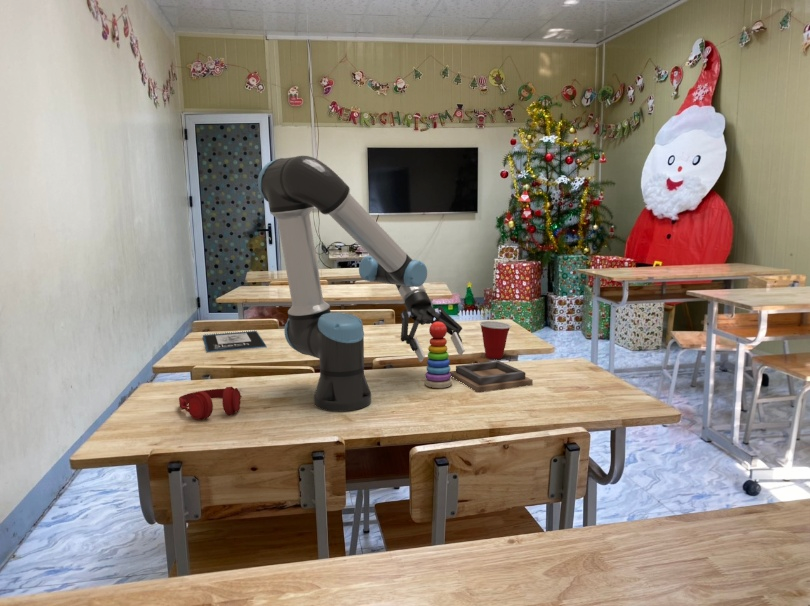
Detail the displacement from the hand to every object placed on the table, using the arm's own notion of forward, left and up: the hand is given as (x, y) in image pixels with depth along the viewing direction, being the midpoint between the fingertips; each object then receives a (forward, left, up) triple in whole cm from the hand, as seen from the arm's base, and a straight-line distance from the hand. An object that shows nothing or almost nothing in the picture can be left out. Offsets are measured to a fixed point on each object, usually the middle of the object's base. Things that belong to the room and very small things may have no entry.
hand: (442, 356), depth 169 cm
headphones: (-63, +8, -10) cm, 64 cm away
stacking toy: (0, +2, -9) cm, 10 cm away
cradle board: (+16, 0, -9) cm, 18 cm away
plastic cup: (+32, +24, -9) cm, 41 cm away
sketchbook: (-49, +88, -10) cm, 101 cm away
